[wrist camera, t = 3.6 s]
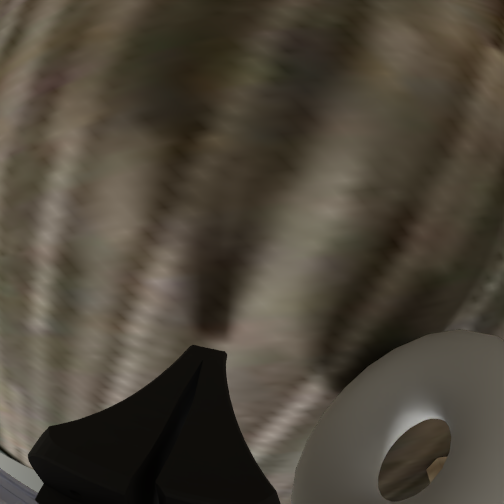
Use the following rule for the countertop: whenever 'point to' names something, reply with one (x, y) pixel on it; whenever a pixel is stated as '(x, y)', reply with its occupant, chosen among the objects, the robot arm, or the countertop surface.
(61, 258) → the countertop surface
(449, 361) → the white rubber ring
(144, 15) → the countertop surface
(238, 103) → the countertop surface
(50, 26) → the countertop surface
